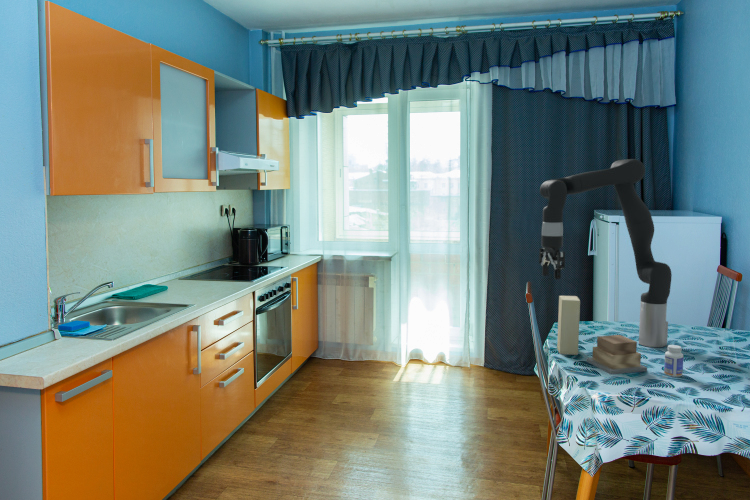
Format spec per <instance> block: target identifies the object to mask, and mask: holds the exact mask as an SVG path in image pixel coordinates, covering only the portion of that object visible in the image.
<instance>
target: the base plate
mask: <svg viewBox="0 0 750 500" xmlns="http://www.w3.org/2000/svg"><path fill="white" fill-rule="evenodd" d="M585 361H586V362H587V363H589V364H590V365H592V366H594V367H596V368H598V369H600V370H601V371H604V372H605V373H608V374H609V375H619V374H628V373H639V372H648V367H647V366H644V365H643V364H641V363H640V367H629V368H619V369H611V368H609V367H607V366H605V365H603V364H601V363H599V362H597V361H595V360H593V359H592V357H586V358H585Z"/></svg>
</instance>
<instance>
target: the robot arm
mask: <svg viewBox="0 0 750 500" xmlns="http://www.w3.org/2000/svg"><path fill="white" fill-rule="evenodd" d="M645 173H646V167H645V165H644V163H643V162H642V161H640V160H638V159H634V158H629V159H628V158H626V159H619V160H615V161H614V162H613V163H612V164H611V165H610V168H605V169H600V170H593V171H592V170H591V171H586V172H580V173H576V174H573V175H569V176H565V177H561V178H555V179H554V178H553V179H550V180H546V181H544V182H543V183H542V184H541V185H540V188H539V194H540V195H541V196H542V198H544V199H547V200H548V203H547V205H546V206H544V207H543V209H542V225H541V245H540V246H541V248H539V249H538V250H539V252H538V263H539V264H540V266H542V267H541V275H542V276H543V277H547V276H549V264H550V263H551V265H553V268H554V270H553V271H554V273H553V279H554V280H561V277H562V275H561V274H562V269H565V267H566V255H565V254H566V252H565V251H561V250H560V248H563V247H564V246H563V243H564V235H563V234H564V225H563V221H564V218H563V217H564V215H563V212H564V209H565V205H566V201H567V197H568V195H576V194H581V193H586V192H588V191H594V190H596V189H597V190H598V189H599V188H600V189H601V188H604V187H609V186H613V187H614V189H615V191H616V194H617V196H618V200H619V203H620V206H621V207H620V208H621V209H622V213H623V217H624V221H625V226H626V229H627V232H628V235H629V239H630V242H631V246H632V250H633V255H634V262H635V267H636V268H635V269H636V273H637V277H638V278H639V280H640V281H641V282H642V283H645V284H648V286H649V287H648V290H647V292H643V293H641V295H640V305H639V306H640V307H639V325H638V326H639V328H638V331H639V332H638V344H639V345H641V346H644V347H647V348H648V347H649V348H663V347H665V346H668V334H669V333H668V329H669V321H667V306H668V299H669V297H670V295H671V294H670V292H671V286H672V285H671V284H672V278H673V277H672V275H673V274H672V270H671V267H670V266H669V265H668V264H667V263H665V262H660V261H656V260H655V258H654V255H653V252H652V241H653V239H654V234H655V225H654V221H653V217H652V214H651V212H650V209H649V208H648V207H647V205H646V204H645V202H644V201H643V199H642V198H640V197H639V195H638V193H637V191H636V188H635V185H634V184H635V183H638V182H640V181H641V180H643V178H644V176H645Z"/></svg>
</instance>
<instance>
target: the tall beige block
mask: <svg viewBox="0 0 750 500" xmlns="http://www.w3.org/2000/svg"><path fill="white" fill-rule="evenodd" d="M580 314H581V300H580V298H579V297H578V295H577V296H576V295H558V318H557V319H558V320H557V340H556V341H557V346H556V348H557V351H558V353H559V354H560V355H572V356H575V355H576V356H578V354H579V339H580V338H579V336H580V318H581V317H580V316H581V315H580Z"/></svg>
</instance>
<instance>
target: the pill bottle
mask: <svg viewBox="0 0 750 500" xmlns="http://www.w3.org/2000/svg"><path fill="white" fill-rule="evenodd" d="M663 367H664V368H663V372H664V374H665V375H666V376H668V377H672V378H673V377H674V378H680V377H682V376H683V374H684V370H683V369H684V354H683V353H682V346H681V345H676V344H667V351H666V352H664V366H663Z"/></svg>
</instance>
